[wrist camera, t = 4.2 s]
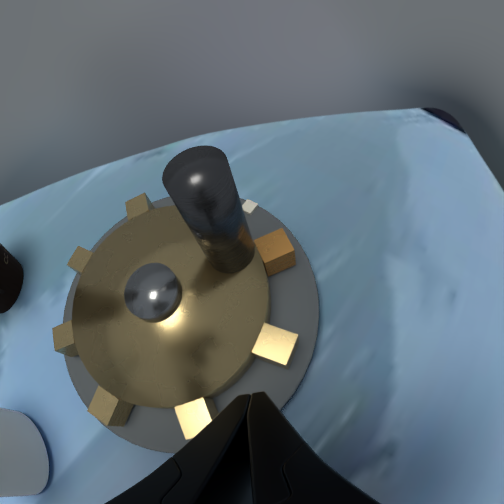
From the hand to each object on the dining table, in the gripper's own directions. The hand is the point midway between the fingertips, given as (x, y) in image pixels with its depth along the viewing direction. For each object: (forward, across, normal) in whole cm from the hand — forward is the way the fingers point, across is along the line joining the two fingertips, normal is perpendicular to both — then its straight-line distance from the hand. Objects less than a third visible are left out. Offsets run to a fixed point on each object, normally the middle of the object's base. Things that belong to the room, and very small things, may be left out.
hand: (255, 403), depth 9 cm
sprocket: (+12, -6, -1) cm, 14 cm away
